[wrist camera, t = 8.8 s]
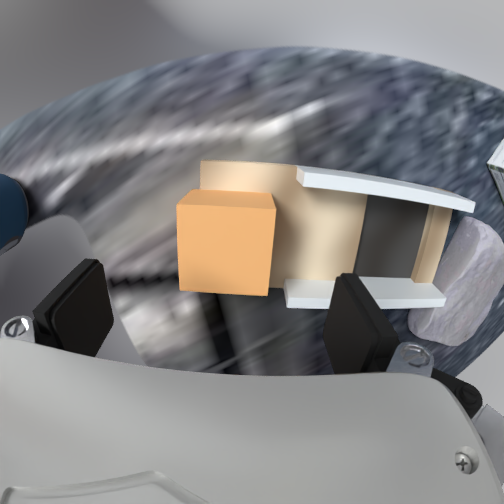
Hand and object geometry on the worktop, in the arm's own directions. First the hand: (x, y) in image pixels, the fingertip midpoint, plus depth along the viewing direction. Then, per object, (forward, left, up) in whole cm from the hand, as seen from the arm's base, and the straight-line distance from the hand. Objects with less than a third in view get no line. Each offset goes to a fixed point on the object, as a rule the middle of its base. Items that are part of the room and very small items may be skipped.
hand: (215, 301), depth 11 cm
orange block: (0, 0, -9) cm, 9 cm away
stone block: (-22, +4, -10) cm, 25 cm away
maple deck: (-8, 0, -10) cm, 12 cm away
